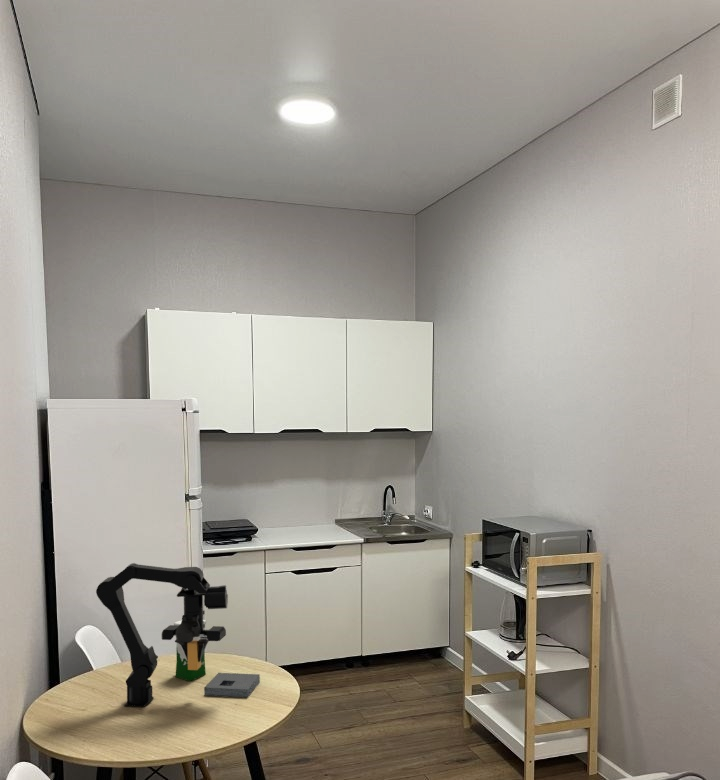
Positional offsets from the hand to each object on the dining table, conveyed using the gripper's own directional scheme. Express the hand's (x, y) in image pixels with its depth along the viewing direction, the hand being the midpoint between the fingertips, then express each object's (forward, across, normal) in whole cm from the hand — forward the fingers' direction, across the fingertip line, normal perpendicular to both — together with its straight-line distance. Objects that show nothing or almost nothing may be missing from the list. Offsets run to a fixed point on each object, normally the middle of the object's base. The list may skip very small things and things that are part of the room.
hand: (194, 661), depth 205 cm
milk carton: (+12, -9, +18) cm, 23 cm away
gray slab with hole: (+12, +9, +9) cm, 17 cm away
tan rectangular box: (+2, 0, 0) cm, 2 cm away
